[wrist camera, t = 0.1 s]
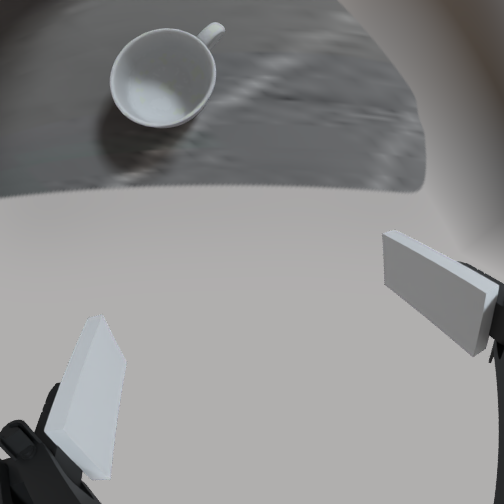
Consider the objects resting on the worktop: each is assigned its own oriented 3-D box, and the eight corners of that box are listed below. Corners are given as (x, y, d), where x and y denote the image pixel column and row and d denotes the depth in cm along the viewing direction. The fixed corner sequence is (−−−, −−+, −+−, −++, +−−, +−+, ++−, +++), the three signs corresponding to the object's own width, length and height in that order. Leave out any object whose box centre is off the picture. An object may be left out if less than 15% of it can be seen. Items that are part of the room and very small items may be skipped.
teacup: (155, 147, 36) (148, 149, 29) (107, 83, 32) (89, 70, 25) (248, 83, 36) (263, 69, 28) (199, 20, 32) (203, -6, 24)
